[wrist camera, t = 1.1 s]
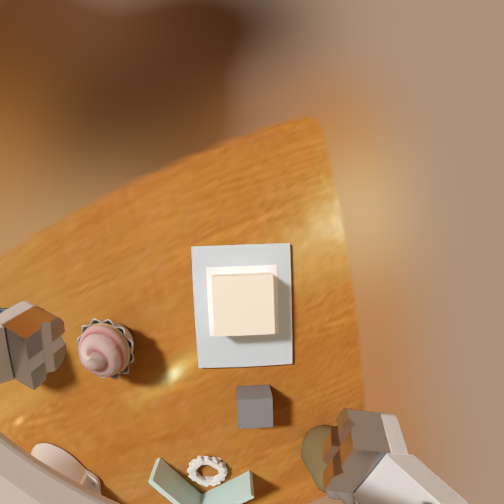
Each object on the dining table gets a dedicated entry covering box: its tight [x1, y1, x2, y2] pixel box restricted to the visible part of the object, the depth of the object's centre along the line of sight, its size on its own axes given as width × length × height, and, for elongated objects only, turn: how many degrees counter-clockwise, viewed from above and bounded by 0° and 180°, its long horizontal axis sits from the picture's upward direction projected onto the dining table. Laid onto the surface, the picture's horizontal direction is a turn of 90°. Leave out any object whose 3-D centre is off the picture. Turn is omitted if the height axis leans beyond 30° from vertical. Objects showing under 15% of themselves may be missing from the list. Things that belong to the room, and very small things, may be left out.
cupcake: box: [77, 318, 134, 379], centre depth 41 cm, size 9×9×10 cm
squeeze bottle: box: [301, 425, 355, 504], centre depth 39 cm, size 8×8×18 cm
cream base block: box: [211, 272, 275, 337], centre depth 44 cm, size 8×8×4 cm
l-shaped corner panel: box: [148, 456, 254, 504], centre depth 44 cm, size 12×12×8 cm
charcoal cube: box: [237, 385, 273, 429], centre depth 45 cm, size 5×5×5 cm
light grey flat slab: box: [191, 243, 292, 368], centre depth 47 cm, size 18×14×1 cm
